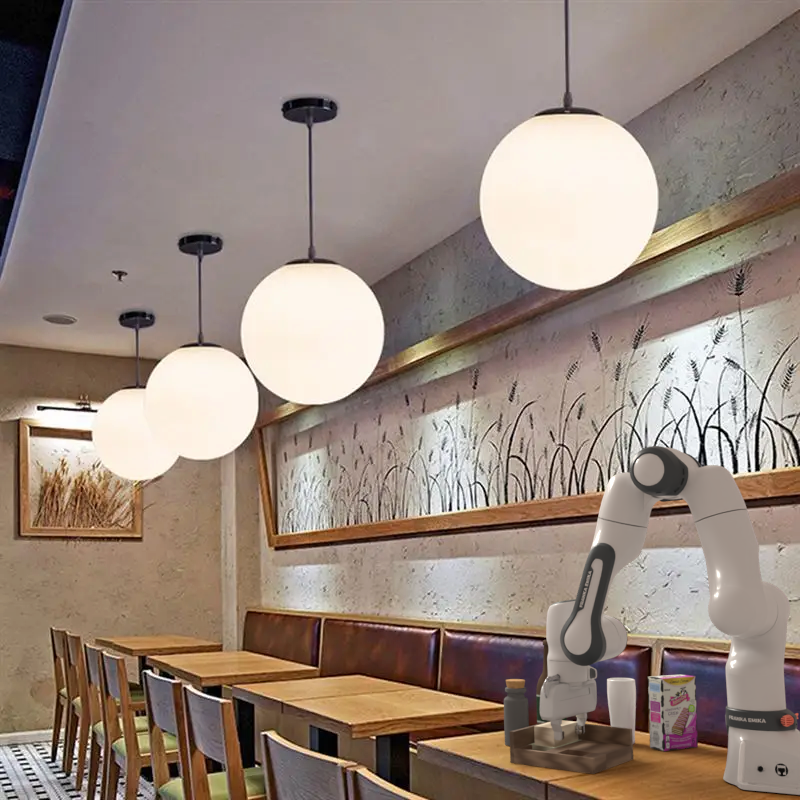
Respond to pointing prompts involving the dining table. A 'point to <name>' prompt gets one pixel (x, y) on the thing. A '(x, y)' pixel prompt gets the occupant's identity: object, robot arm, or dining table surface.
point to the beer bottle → (541, 681)
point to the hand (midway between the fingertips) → (569, 736)
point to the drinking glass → (622, 703)
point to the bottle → (515, 707)
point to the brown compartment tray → (575, 749)
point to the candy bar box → (672, 712)
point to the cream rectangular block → (546, 734)
